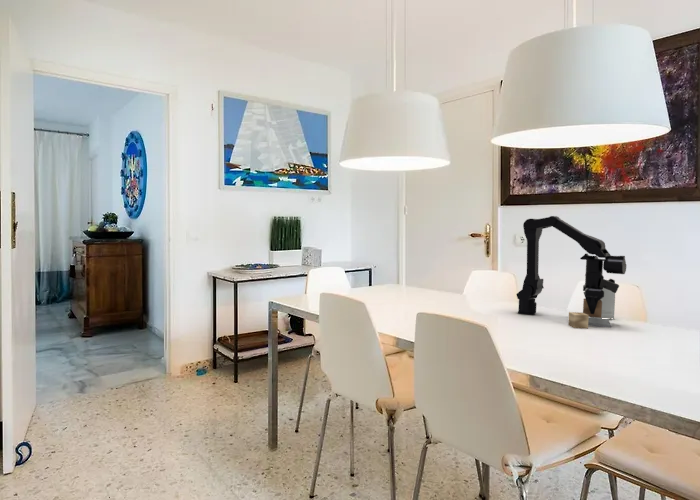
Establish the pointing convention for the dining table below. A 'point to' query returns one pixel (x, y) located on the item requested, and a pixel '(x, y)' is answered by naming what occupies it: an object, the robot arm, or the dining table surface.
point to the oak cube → (578, 320)
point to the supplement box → (608, 304)
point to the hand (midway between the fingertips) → (591, 312)
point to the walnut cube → (597, 311)
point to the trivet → (598, 322)
